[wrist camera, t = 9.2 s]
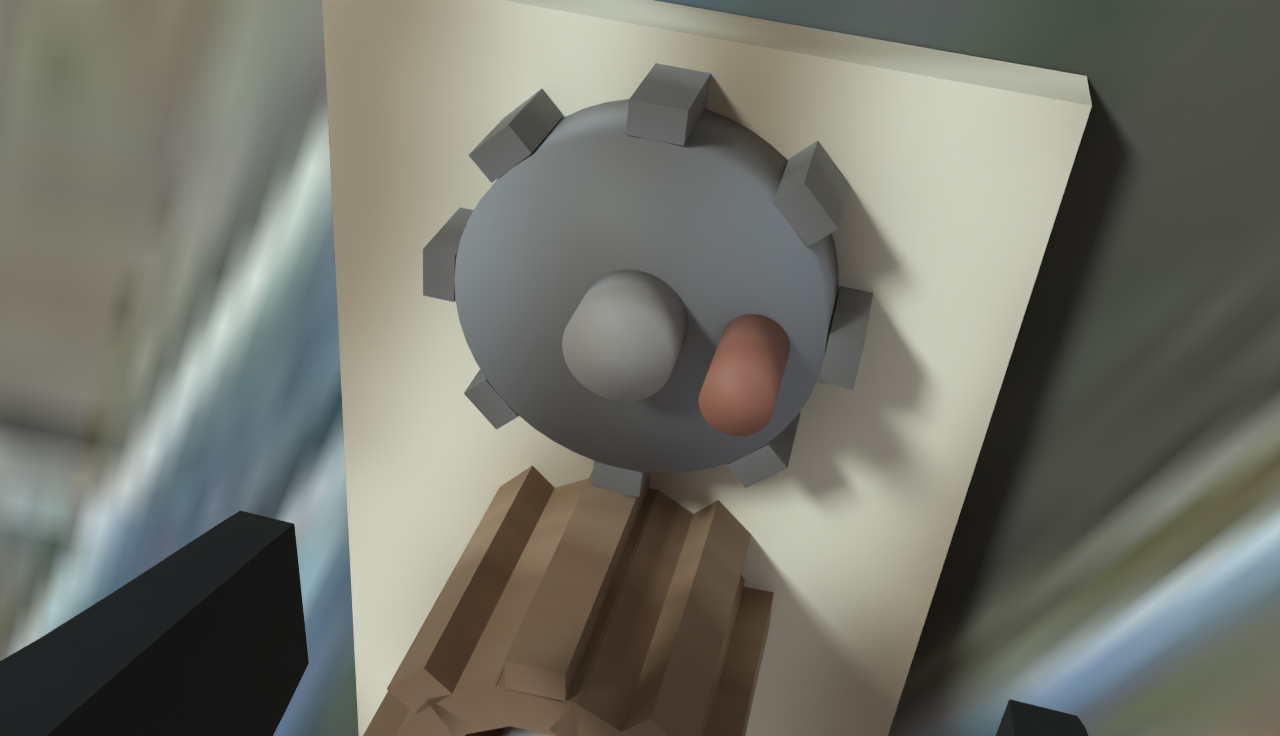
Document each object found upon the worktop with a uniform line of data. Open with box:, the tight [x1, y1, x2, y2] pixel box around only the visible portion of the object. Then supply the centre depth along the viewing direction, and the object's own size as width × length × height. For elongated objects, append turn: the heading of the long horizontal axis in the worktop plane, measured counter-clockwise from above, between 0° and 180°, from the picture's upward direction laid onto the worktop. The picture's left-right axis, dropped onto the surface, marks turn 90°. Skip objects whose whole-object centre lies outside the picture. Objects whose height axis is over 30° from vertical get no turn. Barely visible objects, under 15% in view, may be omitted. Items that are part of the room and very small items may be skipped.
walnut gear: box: [363, 465, 774, 736], centre depth 20 cm, size 6×6×5 cm
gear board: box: [322, 0, 1092, 736], centre depth 21 cm, size 11×21×6 cm, turn 173°
